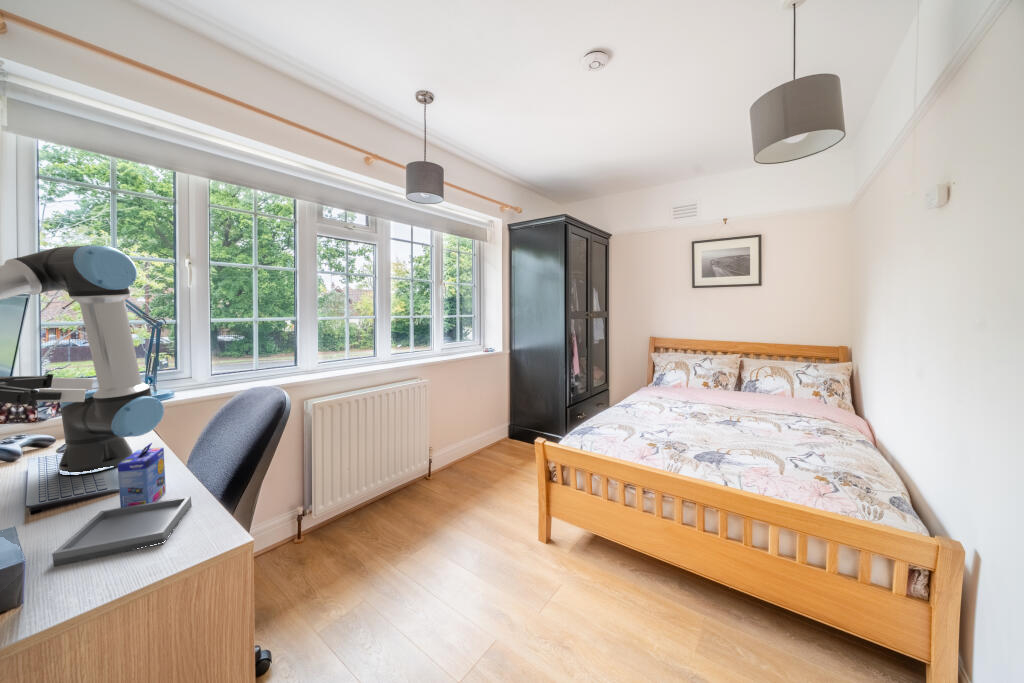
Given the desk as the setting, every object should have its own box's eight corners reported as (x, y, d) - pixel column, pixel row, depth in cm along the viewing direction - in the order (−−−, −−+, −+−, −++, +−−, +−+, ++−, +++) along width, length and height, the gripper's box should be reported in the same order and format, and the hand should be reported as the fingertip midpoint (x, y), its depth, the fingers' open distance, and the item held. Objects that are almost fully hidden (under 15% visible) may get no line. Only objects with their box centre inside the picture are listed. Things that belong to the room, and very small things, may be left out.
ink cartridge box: (150, 509, 90) (144, 451, 88) (119, 514, 88) (113, 455, 86) (168, 490, 99) (163, 437, 97) (141, 495, 97) (135, 440, 95)
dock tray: (102, 521, 85) (101, 511, 85) (191, 505, 92) (190, 496, 91) (53, 566, 70) (52, 553, 70) (164, 543, 77) (163, 532, 77)
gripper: (-50, 393, 83) (93, 394, 97) (-108, 422, 65) (78, 418, 79) (-45, 359, 83) (97, 365, 97) (-101, 379, 65) (83, 383, 79)
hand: (89, 389), depth 88 cm, fingers open, 13 cm apart
